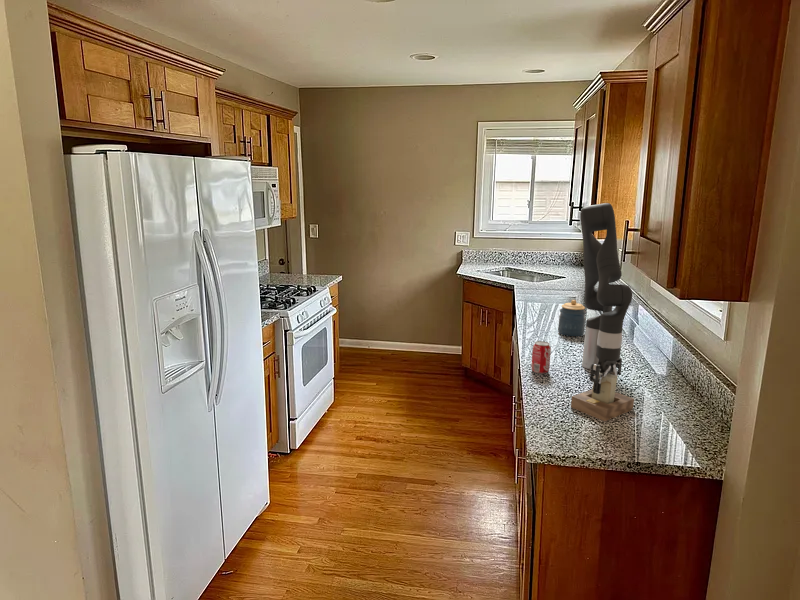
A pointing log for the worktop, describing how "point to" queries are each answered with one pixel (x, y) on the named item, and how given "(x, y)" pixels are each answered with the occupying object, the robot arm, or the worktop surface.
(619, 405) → the brown square frame block
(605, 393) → the skincare box
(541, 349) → the soda can
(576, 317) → the canister
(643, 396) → the worktop surface
